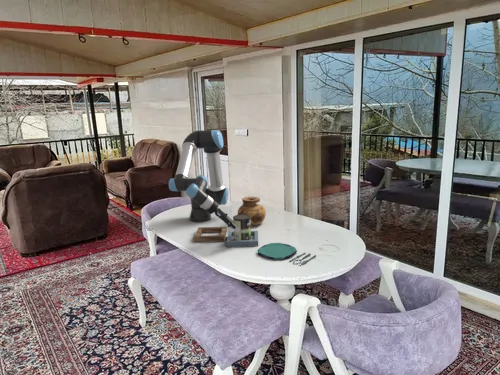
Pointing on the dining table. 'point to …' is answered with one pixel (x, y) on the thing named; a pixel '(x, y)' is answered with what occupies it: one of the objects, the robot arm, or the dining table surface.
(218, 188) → the robot arm
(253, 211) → the clay pot
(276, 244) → the cutlery set
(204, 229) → the wooden square frame
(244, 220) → the coffee can
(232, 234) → the tray
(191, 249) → the dining table surface
